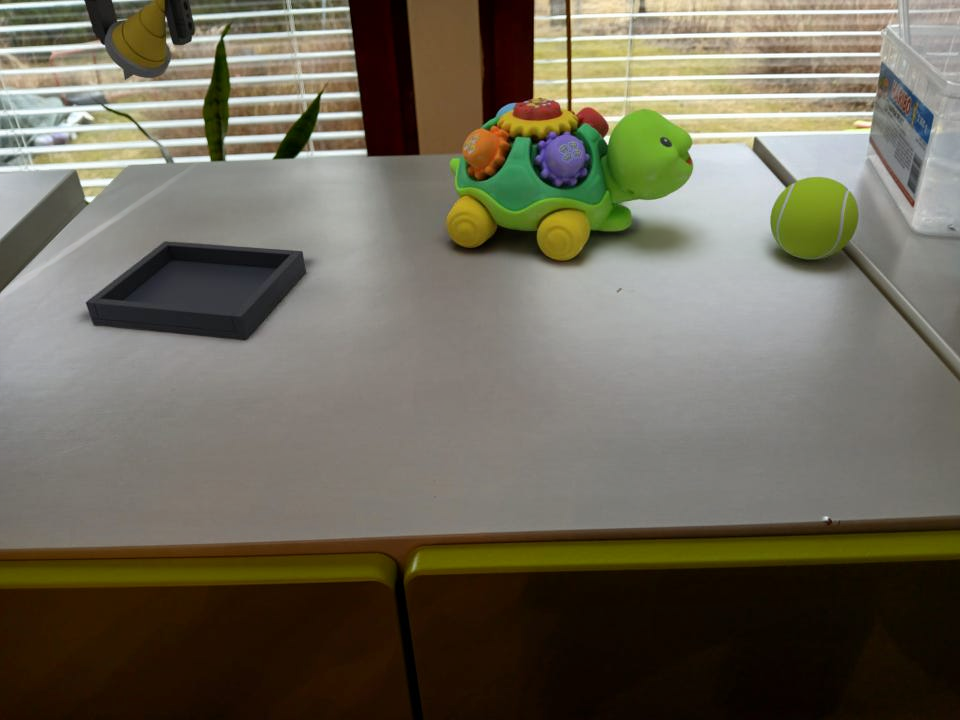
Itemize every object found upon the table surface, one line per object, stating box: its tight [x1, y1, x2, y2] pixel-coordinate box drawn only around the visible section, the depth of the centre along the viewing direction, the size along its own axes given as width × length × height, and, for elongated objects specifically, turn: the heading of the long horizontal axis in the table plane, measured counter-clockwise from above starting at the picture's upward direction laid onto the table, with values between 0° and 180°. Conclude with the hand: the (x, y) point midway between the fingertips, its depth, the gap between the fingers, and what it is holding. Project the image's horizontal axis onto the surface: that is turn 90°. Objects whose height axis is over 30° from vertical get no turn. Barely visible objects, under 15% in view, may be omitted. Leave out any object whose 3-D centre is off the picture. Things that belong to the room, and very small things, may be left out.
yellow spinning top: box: [104, 0, 172, 81], centre depth 69 cm, size 5×5×10 cm
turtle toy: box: [445, 97, 694, 262], centre depth 74 cm, size 17×23×12 cm
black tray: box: [85, 240, 307, 340], centre depth 67 cm, size 14×12×2 cm
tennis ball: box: [769, 176, 859, 261], centre depth 68 cm, size 7×7×7 cm
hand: (147, 42), depth 70 cm, fingers closed on yellow spinning top, 6 cm apart
